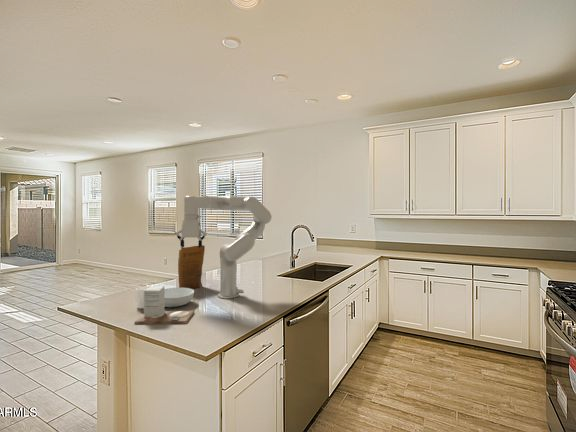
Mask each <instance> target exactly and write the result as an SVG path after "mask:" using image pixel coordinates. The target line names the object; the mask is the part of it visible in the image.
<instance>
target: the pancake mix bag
mask: <svg viewBox="0 0 576 432" xmlns="http://www.w3.org/2000/svg"><path fill="white" fill-rule="evenodd" d="M205 249H206V248H205V245H203V244H202V246H201V247H200V248H199V247H198V245H193V246H192V245H191V246H188V247H185V246H184V247H183V248H181V247H180V249H179V250H178V261H177V262H178V263H177V272H178V274H177V275H178V288H189V289H192V290H194V289H199V288H201V287H202V286H203V283H202V276H203V264H204V260H205V259H204V258H205V257H204V256H205Z"/></svg>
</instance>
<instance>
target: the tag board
mask: <svg viewBox="0 0 576 432" xmlns="http://www.w3.org/2000/svg"><path fill="white" fill-rule="evenodd" d="M194 314H195V310H165V312H164V313H163V314H162V315H161V316H160V317H144V313H143V314H142V315H141V316H139V317H138V318H137V319H136V320H134V325H168V324H169V325H173V324H175V325H176V324H178V325H180V324H183V325H184V324H187V323H188V322H189V321H190V319H191V318H192V316H194Z"/></svg>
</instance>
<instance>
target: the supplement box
mask: <svg viewBox="0 0 576 432" xmlns="http://www.w3.org/2000/svg"><path fill="white" fill-rule="evenodd" d="M164 289H165V286H151V287H149V288H147V289H146V290H144V308H143V314H144V317H160V316H161V315H162V314H163V313H164V312H165V311H166V309H165V308H166V307H165V298H164Z"/></svg>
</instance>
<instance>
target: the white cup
mask: <svg viewBox="0 0 576 432" xmlns="http://www.w3.org/2000/svg"><path fill="white" fill-rule="evenodd" d="M149 287H152V286H151V285H144V286H139V287H136V288H135V302H136V308H137V309H144V290H146V289H147V288H149Z"/></svg>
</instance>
